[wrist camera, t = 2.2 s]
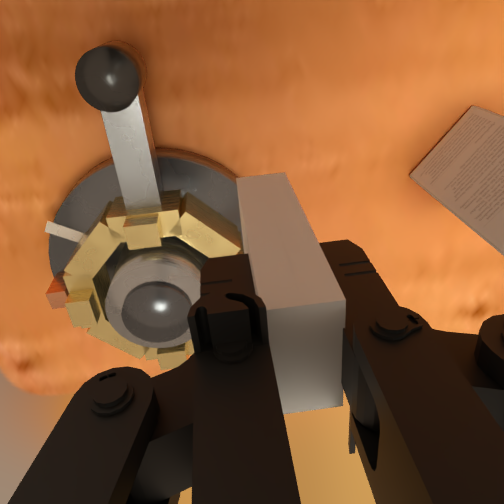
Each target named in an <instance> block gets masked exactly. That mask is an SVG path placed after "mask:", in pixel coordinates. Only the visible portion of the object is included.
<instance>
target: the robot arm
mask: <svg viewBox="0 0 504 504" xmlns="http://www.w3.org/2000/svg"><path fill="white" fill-rule="evenodd" d="M236 182H237V191H238V200H239V209H240V218H241V227H242V236H243V245H244V254H238V255H230V256H222V257H214V258H209V259H208V260H207V261H206V263H205V264H204V266H203V267H202V269H201V270H200V285H201V286H200V299H198V300H197V301H196V302H195V303H194V304H193V305H192V306H191V307H190V310H189V313H188V316H187V319H188V324H189V329H190V334H191V339H192V344H193V348H194V353H193V354H192V355H191V356H190V358H189V359H188V360H186V361H185V362H184V363H182V364H181V365H180V366H178V367H176V368H174V369H172V370H170V371H167V372H165V373H162V374H160V375H157V376H155V377H152V378H150V376H149V375H148V374H146V373H145V372H144V371H142V370H141V369H137V368H133V367H119V368H112V369H109V370H107V371H104V372H101V373H99V374H97V375H95V376H94V377H92V378H91V379H90V380H88V381H87V382H85V383H84V384H83V385H82V386H81V388H80V389H79V390H78V391H77V392H76V393H75V395H74V396H73V398H72V399H71V401H70V403H69V404H68V406H67V407H66V409H65V411H64V412H63V414H62V416H61V417H60V419H59V421H58V422H57V424H56V425H55V427H54V429H53V431H52V432H51V434H50V435H49V437H48V438H47V440H46V442H45V443H44V445H43V447H42V448H41V450H40V452H39V453H38V455H37V457H36V458H35V460H34V461H33V463H32V465H31V466H30V468H29V470H28V471H27V473H26V475H25V476H24V478H23V479H22V481H21V483H20V484H19V486H18V487H17V489H16V491H15V492H14V494H13V496H12V497H11V499H10V500H9V502H8V504H178V501H179V497H180V492H181V491H184V490H186V489H187V488H189V487H192V504H301V501H300V497H299V491H298V486H297V481H296V476H295V471H294V466H293V461H292V456H291V451H290V446H289V441H288V436H287V431H286V425H285V420H284V415H283V414H288V413H295V412H303V411H309V410H316V409H324V408H331V407H338V406H343V389H344V391H345V394H346V397H347V400H348V403H349V405H350V421H349V443H348V444H349V453H350V454H352V453H355V444H356V446H357V449H358V452H359V455H360V458H361V461H362V464H363V467H364V470H365V473H366V476H367V478H368V481H369V484H370V487H371V490H372V493H373V496H374V499H375V502H376V504H504V314H502V315H496V316H492V317H490V318H489V319H487V320H485V321H483V323H482V326H481V328H480V330H479V335H476V334H465V333H455V332H446V331H440V330H435V329H432V328H431V327H430V325H429V324H428V322H426V321H425V320H424V319H423V318H422V317H421V316H420V315H419V314H418V313H416V312H414V311H412V310H410V309H407V308H404V307H400V306H399V305H398V304H397V302H396V300H395V299H394V297H393V296H392V294H391V293H390V291H389V290H388V288H387V286H386V285H385V283H384V282H383V280H382V279H381V277H380V276H379V274H378V273H376V269H375V268H374V266H373V265H372V263H370V260H369V259H368V257H367V255H366V254H365V252H364V251H363V249H362V248H360V247H359V246H357V245H356V244H354V243H352V242H351V241H349V240H340V241H332V242H323V243H319V242H318V240H317V238H316V236H315V234H314V232H313V230H312V228H311V226H310V224H309V222H308V220H307V217H306V215H305V213H304V211H303V209H302V207H301V205H300V203H299V201H298V199H297V197H296V195H295V192H294V190H293V188H292V186H291V184H290V182H289V180H288V178H287V176H286V174H285V172H284V173H275V174H266V175H258V176H249V177H241V178H236Z"/></svg>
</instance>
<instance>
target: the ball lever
mask: <svg viewBox="0 0 504 504" xmlns="http://www.w3.org/2000/svg"><path fill="white" fill-rule="evenodd" d="M146 78H147V69H146V64H145V61H144V59H143V57H142V56H141V54H140V53H139V52H138V51H137V50H136V49H135V48H134V47H133V46H131V45H129V44H128V43H125V42H121V41H110V42H107V43H105V44H103V45H100V46H98V47H96V48H94V49H92V50H90V51H88V52H86V53H85V54H84V55H83V56H82V57H81V58H80V60H79V61H78V63H77V66H76V70H75V80H76V85H77V88H78V90H79V92H80V94H81V96H82V97H83V98H84V99H85V101H86V102H87V103H89V104H90V105H91V106H93V107H94V108H96V109H98V110H100V111H101V114H102V118H103V122H104V126H105V129H106V133H107V137H108V141H109V145H110V149H111V153H112V157H113V161H114V164H115V168H116V172H117V176H118V180H119V184H120V188H121V192H122V196H119V197H115V199H114V201H113V202H111V201H110V200H109V202H108V203H107V204H106V206H105V207H104V209H103V210H102V211H101V213H100V214H99V215H98V217H97V218H96V220H95V221H94V222H93V224H92V225H91V226H90V228H89V229H88V230H87V232H86V233H85V235H84V236H83V237H82V239H81V240H80V241H79V243H78V244H77V246H76V248H75V250H74V251H73V253H72V255H71V257H70V259H69V261H68V263H67V265H66V267H65V269H64V271H65V273H64V275H63V278H64V281H65V284H66V287H67V289H68V292H69V295H68V297H67V299H66V302H65V306H66V308H67V311H68V314H69V316H70V319H71V321H72V324H73V327H80V326H81V327H82V328H88V330H87V333H88V334H90V335H92V336H94V337H96V338H98V339H100V340H102V341H104V342H106V343H108V344H110V345H112V346H114V347H116V348H118V349H120V350H122V351H124V352H126V353H128V354H130V355H132V356H134V357H136V358H138V359H141V358H142V357H143V356H144V354H145V357H146V360H153V359H158V361H159V365H160V369H161V370H166V369H173V368H176V367H178V366H180V365H181V364H182V363H184V362H185V361H186V360H188V359H189V355H191V354H193V353H194V348H193V344H192V339H191V340H189V341H187V342H185V343H183V344H180V345H177V346H174V347H168V348H151V347H145V346H141V345H138V344H135V343H133V342H130V341H129V340H127V339H125V338H124V337H122V336H121V335H120V334H119V333H118V332H117V331H115V329H114V328H113V327H112V325H111V324H110V322H109V320H108V318H107V315H106V311H105V301H106V297H107V293H108V290H109V287H110V284H111V281H110V278H109V275H108V271H107V268H106V265H105V262H106V261H107V259H108V258H109V257H110V255H111V254H112V253H113V252H114V250H115V249H116V248H117V246H118V245H119V244H120V243H121V242H127V245H128V249H129V250H132V249H141V248H149V247H157V246H162V241H163V237H170V236H176V237H178V238H179V239H181V240H183V241H184V242H186V243H187V244H189V245H190V246H192V247H193V248H195V249H197V250H198V251H200V252H201V253H203V254H204V255H206V256H207V257H209V258H214V257H222V256H230V255H238V254H244V250H243V243H242V237H241V231H239V232H238V227H237V226H236V225H235V224H233V223H232V222H231V221H229V220H228V219H226V218H225V217H224V216H222V215H221V214H219V213H218V212H216V211H215V210H214V209H212V208H211V207H209V206H208V205H206V204H205V203H204V202H202V201H201V200H199V199H198V198H196V197H195V196H194V195H192V194H191V193H189V192H188V191H187V192H186V194H185V195H184V196H183V197H182V195H181V190H171V191H164V190H163V185H162V180H161V175H160V170H159V165H158V160H157V156H156V151H155V146H154V141H153V136H152V131H151V126H150V121H149V116H148V111H147V106H146V101H145V96H144V92H143V86H144V84H145V82H146Z"/></svg>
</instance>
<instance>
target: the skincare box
mask: <svg viewBox="0 0 504 504" xmlns="http://www.w3.org/2000/svg"><path fill="white" fill-rule="evenodd" d="M410 177H411V178H412V179H413V180H414V181H415V182H416V183H417V184H418V185H420V186H421V187H422V188H423V189H424V190H425V191H427V192H428V193H429V194H430V195H431V196H433V197H434V198H435V199H436V200H437V201H439V202H440V203H441V204H442V205H443V206H445V207H446V208H447V209H448V210H449V211H451V212H452V213H453V214H454V215H455V216H456V217H458V218H459V219H460V220H461V221H462V222H464V223H465V224H466V225H467V226H468V227H470V228H471V229H472V230H473V231H474V232H476V233H477V234H478V235H479V236H480V237H482V238H483V239H484V240H485V241H486V242H488V243H489V244H490V245H491V246H493V247H494V248H495V249H496V250H497V251H499V252H500V253H501V254H502V255H503V256H504V116H501V115H499V114H496V113H494V112H491V111H488V110H486V109H483V108H480V107H478V106H472V107H471V108H470V109H469V110H468V111H467V112H466V113H465V115H464V116H463V117H462V118H461V119H460V120H459V121H458V122H457V123H456V125H455V126H454V127H453V128H452V129H451V130H450V131H449V132H448V133H447V134H446V136H445V137H444V138H443V139H442V140H441V141H440V142H439V143H438V144H437V146H436V147H435V148H434V149H433V150H432V151H431V152H430V153H429V154H428V155H427V157H426V158H425V159H424V160H423V161H422V162H421V163H420V164H419V165H418V166H417V168H416V169H415V170H414V171H413V172H412V173H411V174H410Z"/></svg>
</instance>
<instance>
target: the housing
mask: <svg viewBox="0 0 504 504" xmlns="http://www.w3.org/2000/svg"><path fill="white" fill-rule="evenodd" d="M155 151H156V156H157V160H158V165H159V170H160V175H161V180H162V185H163V190H164V191H171V190H181V195H182V197H183V196H184V195H185V194H186V192H187V191H188V192H189V193H191V194H192V195H194V196H195V197H196V198H198V199H199V200H201V201H202V202H204V203H205V204H206V205H208V206H209V207H211V208H212V209H214V210H215V211H216V212H218V213H219V214H221V215H222V216H224V217H225V218H226V219H228V220H229V221H231V222H232V223H233V224H235V225H236V226H237V227H238V232H239V231H241V237H242V243H243V236H242V227H241V218H240V209H239V200H238V191H237V182H236V178H238V177H237V176H236V175H235V174H234V173H232V172H231V171H230V170H228V169H227V168H225V167H224V166H222V165H221V164H219V163H217V162H215V161H213V160H211V159H209V158H207V157H204V156H201V155H198V154H195V153H192V152H188V151H183V150H178V149H168V148H155ZM119 196H122V192H121V188H120V184H119V180H118V176H117V172H116V168H115V164H114V161H113V157H112V158H110V159H108V160H106V161H104V162H102V163H101V164H99V165H98V166H96V167H95V168H93V169H92V170H90V171H89V172H88V173H87V174H86V175H85V176H84V177H82V178H81V179H80V180H79V182H78V183H77V184H76V185H75V187H74V188H73V189H72V190H71V192H70V193H69V195H68V196H67V197H66V199H65V200H64V202H63V203H62V205H61V207H60V209H59V210H58V212H57V214H56V216H55V219H54V222H51V221H47V225H46V228H45V232H47V233H50V238H49V258H50V266H51V269H52V272H53V276H54V279H53V281H52V283H51V285H50V287H49V289H48V291H47V292H46V296H47V298H48V300H49V303H50V305H51V307H52V309H56V308H63V307H66V306H65V302H66V299H67V297H68V295H69V292H68V289H67V287H66V284H65V281H64V278H63V275H64V273H65V271H64V269H65V267H66V265H67V263H68V261H69V259H70V257H71V255H72V253H73V251H74V250H75V248H76V246H77V244H78V243H79V241H80V240H81V239H82V237H83V236H84V235H85V233H86V232H87V230H88V229H89V228H90V226H91V225H92V224H93V222H94V221H95V220H96V218H97V217H98V215H99V214H100V213H101V211H102V210H103V209H104V207H105V206H106V204H107V203H108V202H109V200H110V201H111V202H113V201H114V199H115V197H119ZM243 250H244V245H243ZM208 259H209V257H207V256H206V255H204V254H203V253H201V252H200V251H198V250H197V249H195V248H193V247H192V246H190V245H189V244H187V243H186V242H184V241H183V240H181V239H179V238H178V237H176V236H170V237H163V241H162V246H157V247H149V248H141V249H132V250H129V249H128V245H127V242H121V243H120V244H119V245H118V246H117V248H116V249H115V250H114V252H113V253H112V254H111V255H110V257H109V258H108V259H107V261H106V262H105V265H106V268H107V271H108V275H109V278H110V281H111V284H110V287H109V290H108V293H107V297H106V301H105V311H106V315H107V318H108V320H109V322H110V324H111V325H112V327H113V328H114V329H115V331H117V332H118V333H119V334H120V335H121V336H122V337H124V338H125V339H127V340H129V341H130V342H133V343H135V344H138V345H141V346H145V347H151V348H168V347H174V346H177V345H180V344H183V343H185V342H187V341H189V340H191V334H190V329H189V324H188V319H187V316H188V313H189V310H190V307H191V306H192V305H193V304H194V303H195V302H196V301H197V300H198V299H200V286H201V285H200V270H201V269H202V267H203V266H204V264H205V263H206V261H207V260H208Z"/></svg>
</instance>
